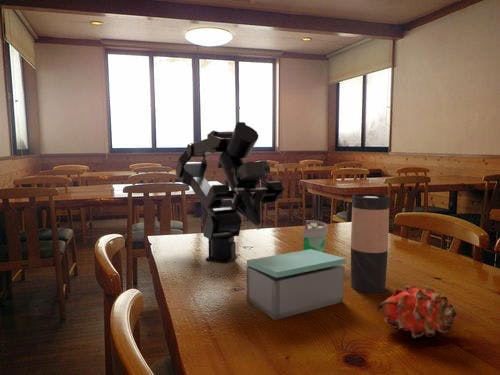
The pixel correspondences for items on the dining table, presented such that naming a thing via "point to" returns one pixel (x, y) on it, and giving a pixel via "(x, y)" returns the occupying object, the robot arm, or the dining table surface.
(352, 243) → the travel mug
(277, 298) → the grey rectangular box
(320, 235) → the food container
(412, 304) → the dragon fruit
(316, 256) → the mint green lid
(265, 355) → the dining table surface
